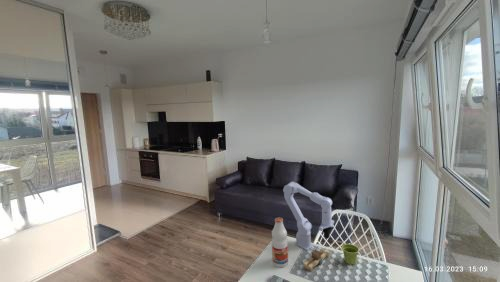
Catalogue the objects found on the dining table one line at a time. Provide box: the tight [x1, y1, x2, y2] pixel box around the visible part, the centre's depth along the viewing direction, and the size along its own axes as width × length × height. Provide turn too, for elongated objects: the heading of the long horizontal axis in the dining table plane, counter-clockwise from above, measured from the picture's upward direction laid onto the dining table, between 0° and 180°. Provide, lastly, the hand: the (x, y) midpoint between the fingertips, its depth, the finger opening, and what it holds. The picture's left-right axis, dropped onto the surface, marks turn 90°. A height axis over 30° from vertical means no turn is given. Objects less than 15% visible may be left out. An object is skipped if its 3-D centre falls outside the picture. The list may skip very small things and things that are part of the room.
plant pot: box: [341, 243, 360, 266], centre depth 138 cm, size 9×9×9 cm
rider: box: [311, 248, 321, 260], centre depth 139 cm, size 4×4×5 cm
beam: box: [302, 248, 330, 273], centre depth 139 cm, size 20×6×3 cm, turn 132°
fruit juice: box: [271, 217, 289, 269], centre depth 138 cm, size 9×9×28 cm
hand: (326, 237), depth 148 cm, fingers closed
